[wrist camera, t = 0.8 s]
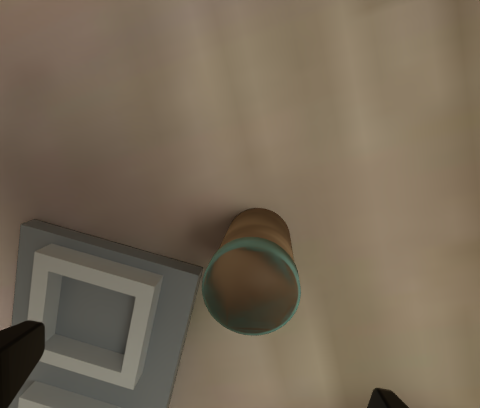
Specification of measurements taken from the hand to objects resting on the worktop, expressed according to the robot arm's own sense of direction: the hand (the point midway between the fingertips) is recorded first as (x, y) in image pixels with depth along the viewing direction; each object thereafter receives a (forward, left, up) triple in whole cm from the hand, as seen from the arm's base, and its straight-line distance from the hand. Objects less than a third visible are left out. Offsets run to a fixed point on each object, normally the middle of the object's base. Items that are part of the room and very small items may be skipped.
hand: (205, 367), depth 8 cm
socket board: (+8, +13, -12) cm, 20 cm away
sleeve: (-1, 0, -12) cm, 12 cm away
